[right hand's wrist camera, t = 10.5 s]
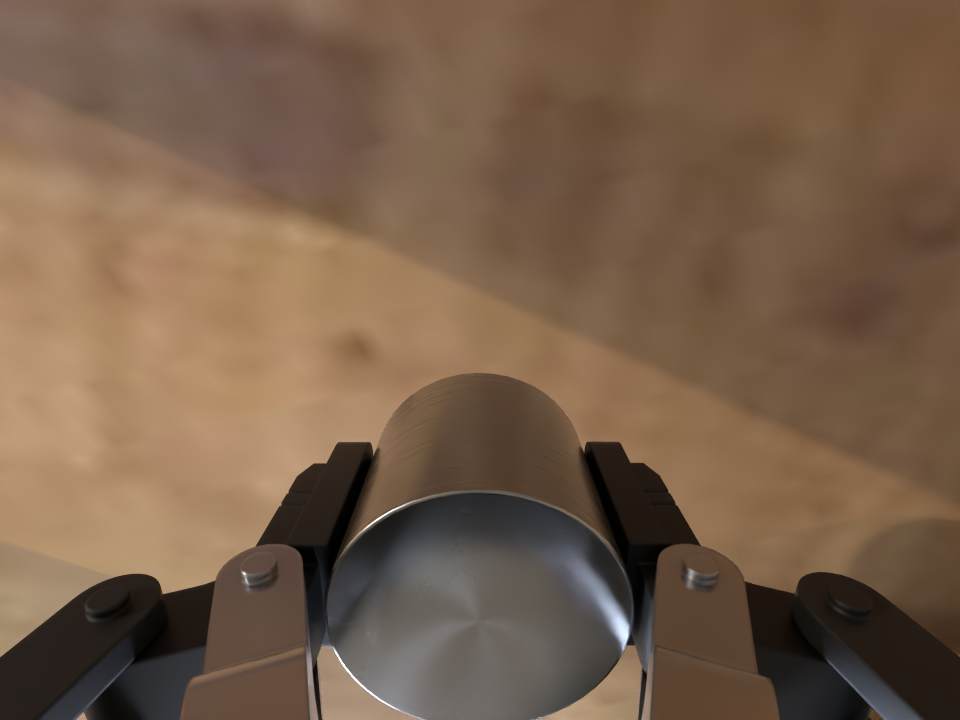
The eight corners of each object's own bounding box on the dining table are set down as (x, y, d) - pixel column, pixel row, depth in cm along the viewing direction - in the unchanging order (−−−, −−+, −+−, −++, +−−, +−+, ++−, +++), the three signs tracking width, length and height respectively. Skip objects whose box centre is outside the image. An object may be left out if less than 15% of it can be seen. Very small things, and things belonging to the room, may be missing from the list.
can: (532, 572, 14) (556, 757, 9) (351, 515, 13) (289, 685, 9) (617, 414, 12) (693, 551, 8) (415, 341, 12) (377, 444, 7)
